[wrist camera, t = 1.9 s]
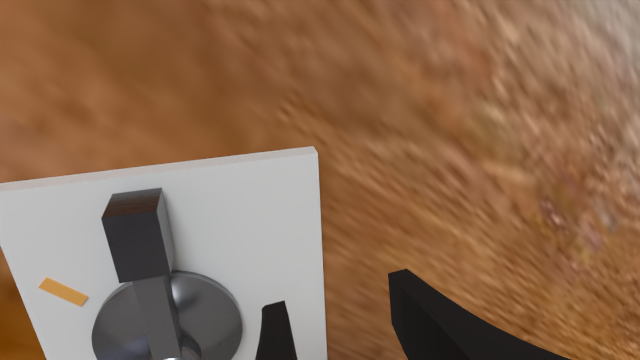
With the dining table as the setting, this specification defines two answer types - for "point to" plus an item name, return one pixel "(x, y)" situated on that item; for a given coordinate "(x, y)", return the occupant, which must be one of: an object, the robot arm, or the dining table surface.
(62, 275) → the stand plate
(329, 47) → the dining table surface
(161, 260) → the crank handle
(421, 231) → the dining table surface
